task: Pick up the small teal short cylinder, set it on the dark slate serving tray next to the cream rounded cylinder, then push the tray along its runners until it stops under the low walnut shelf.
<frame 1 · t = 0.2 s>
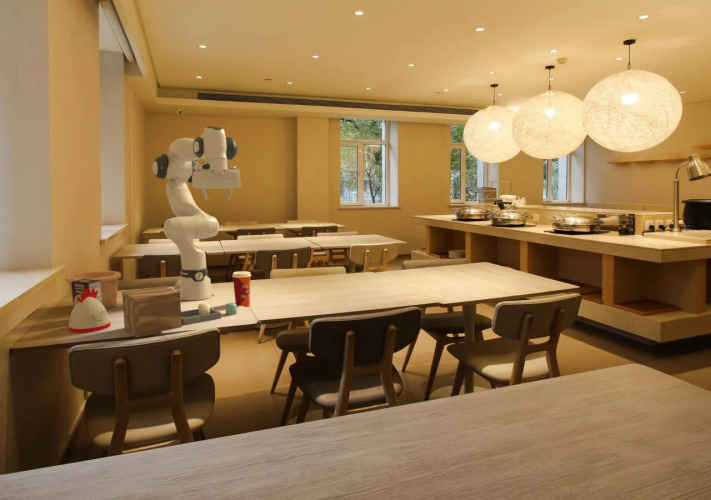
hand: (217, 199, 206), 47 cm above the table, tool pointing down, fingers open, 8 cm apart
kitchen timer: (90, 328, 187), on the table
shelf: (153, 328, 185), on the table
teal short cylinder: (231, 316, 202), on the table
coffee box: (88, 320, 198), on the table
tray: (197, 316, 195), point 2 cm above the table, slide at 12.0 cm, touching cream rounded cylinder
cream rounded cylinder: (204, 317, 197), point 1 cm above the table, touching tray
coffee cup: (242, 306, 220), on the table
pottery: (95, 307, 220), on the table
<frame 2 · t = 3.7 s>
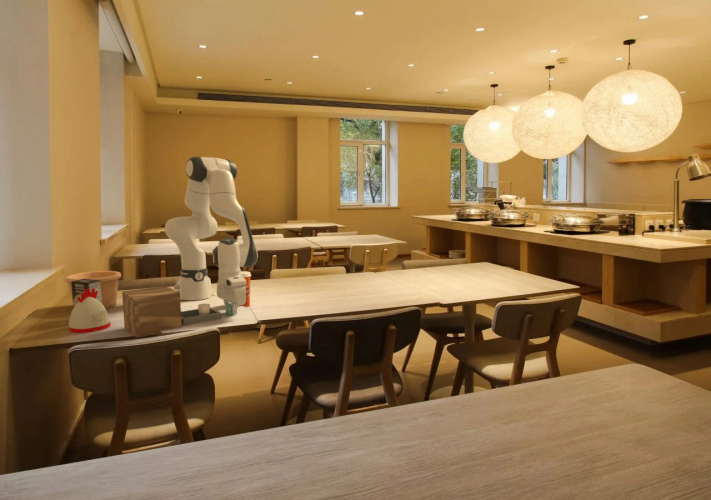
hand: (231, 311, 202), 2 cm above the table, tool pointing down, fingers closed on teal short cylinder, 4 cm apart
teal short cylinder: (231, 316, 202), on the table, touching gripper
everything else where it was.
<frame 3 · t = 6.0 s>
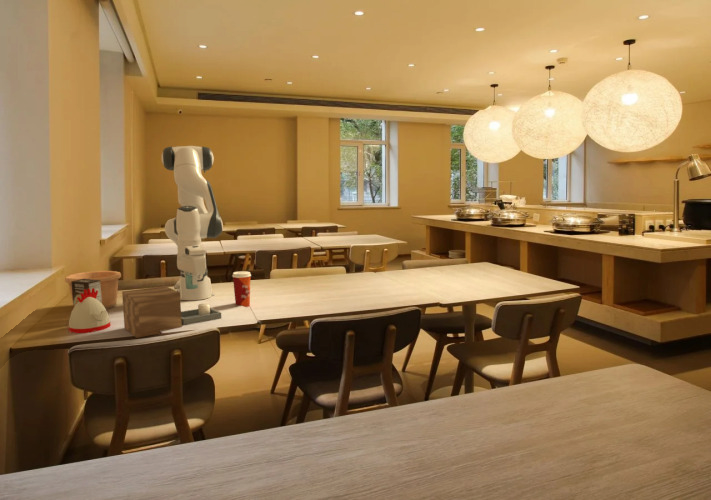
hand: (191, 283, 192), 15 cm above the table, tool pointing down, fingers closed on teal short cylinder, 4 cm apart
teal short cylinder: (191, 287, 192), point 14 cm above the table, touching gripper
everything else where it was.
when the fingers open (4 cm above the table, at t = 8.4 s): teal short cylinder stays where it is, resting on tray.
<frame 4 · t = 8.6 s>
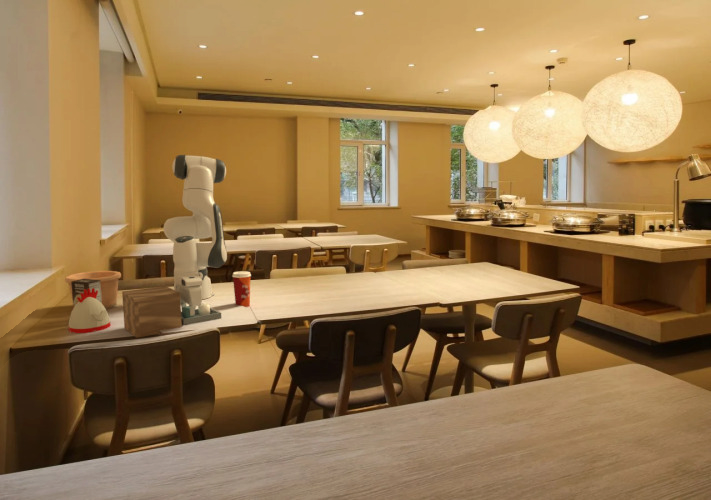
hand: (188, 313, 193), 4 cm above the table, tool pointing down, fingers open, 6 cm apart
teal short cylinder: (188, 319, 193), point 1 cm above the table, touching tray
tray: (197, 316, 195), point 2 cm above the table, slide at 12.0 cm, touching teal short cylinder, cream rounded cylinder
everything else where it was.
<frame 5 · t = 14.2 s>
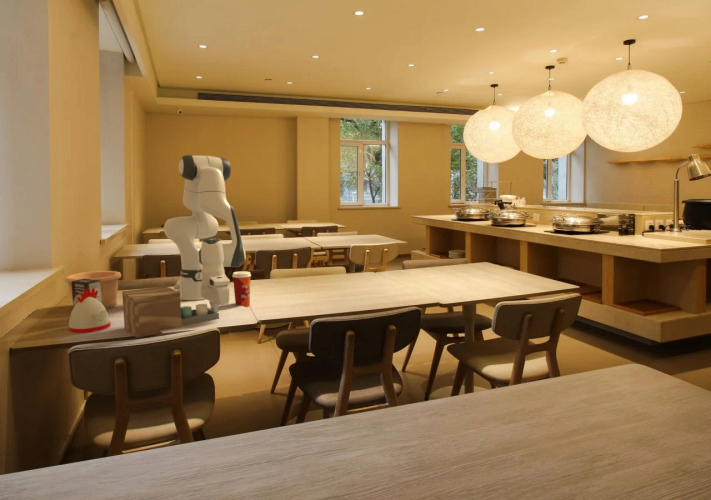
hand: (214, 312, 200), 2 cm above the table, tool pointing down, fingers closed, pressing on tray
tray: (194, 317, 195), point 2 cm above the table, slide at 11.0 cm, touching gripper, teal short cylinder, cream rounded cylinder
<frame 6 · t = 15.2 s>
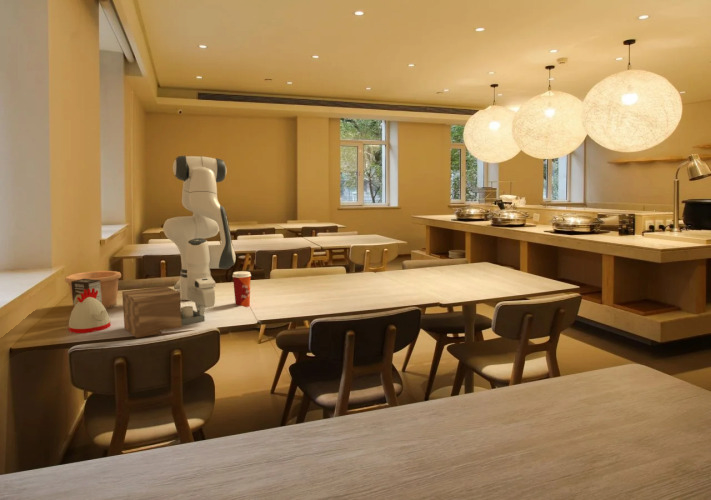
hand: (200, 314, 196), 2 cm above the table, tool pointing down, fingers closed, pressing on tray
teal short cylinder: (170, 322, 189), point 1 cm above the table, touching tray
tray: (179, 319, 191), point 2 cm above the table, slide at 5.1 cm, touching gripper, teal short cylinder, cream rounded cylinder
cream rounded cylinder: (187, 320, 193), point 1 cm above the table, touching tray
everything else where it was.
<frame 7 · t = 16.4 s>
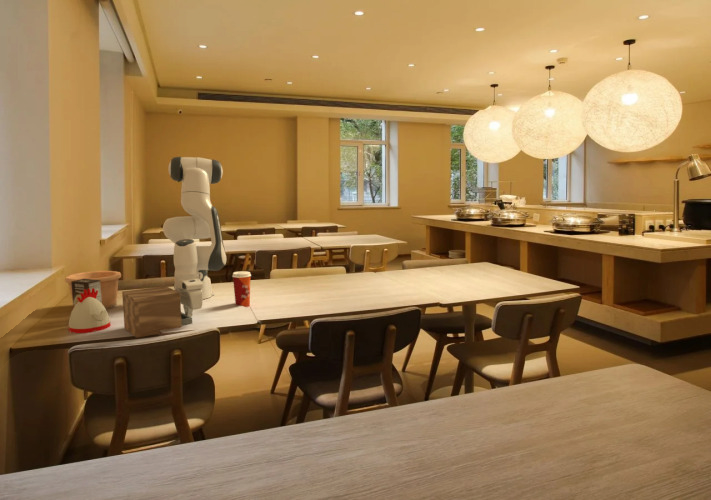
hand: (188, 316, 193), 2 cm above the table, tool pointing down, fingers closed, pressing on tray
teal short cylinder: (157, 325, 186), point 1 cm above the table, touching tray
tray: (167, 321, 188), point 2 cm above the table, slide at 0.3 cm, touching gripper, teal short cylinder, cream rounded cylinder
cream rounded cylinder: (175, 322, 190), point 1 cm above the table, touching tray
everything else where it was.
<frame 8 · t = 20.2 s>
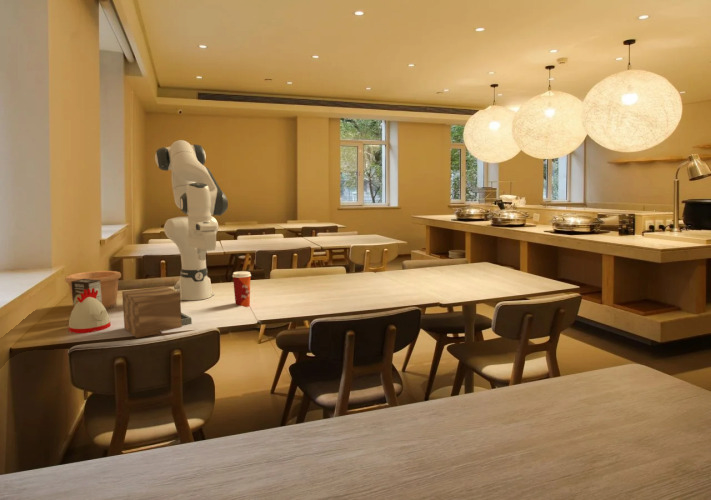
hand: (201, 259, 194), 24 cm above the table, tool pointing down, fingers closed
tray: (166, 321, 188), point 2 cm above the table, slide at 0.0 cm, touching teal short cylinder, cream rounded cylinder
everything else where it was.
at the end: tray slide at 0.0 cm; teal short cylinder inside the target area (0.5 cm from its centre), point 1.0 cm above the table; teal short cylinder tilted 1° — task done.
